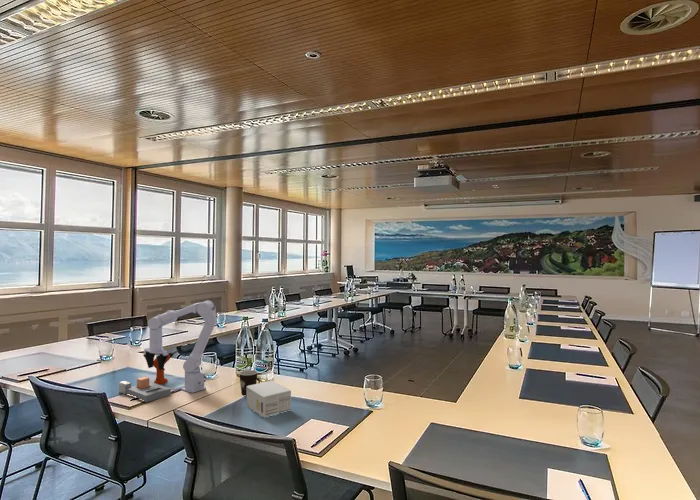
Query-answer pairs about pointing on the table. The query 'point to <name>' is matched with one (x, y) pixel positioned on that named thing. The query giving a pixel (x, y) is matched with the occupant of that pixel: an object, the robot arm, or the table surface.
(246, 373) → the coffee mug
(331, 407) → the table surface
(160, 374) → the toy drill
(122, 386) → the light gray block
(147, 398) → the socket board
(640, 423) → the table surface
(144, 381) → the square peg
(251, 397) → the supplement box
